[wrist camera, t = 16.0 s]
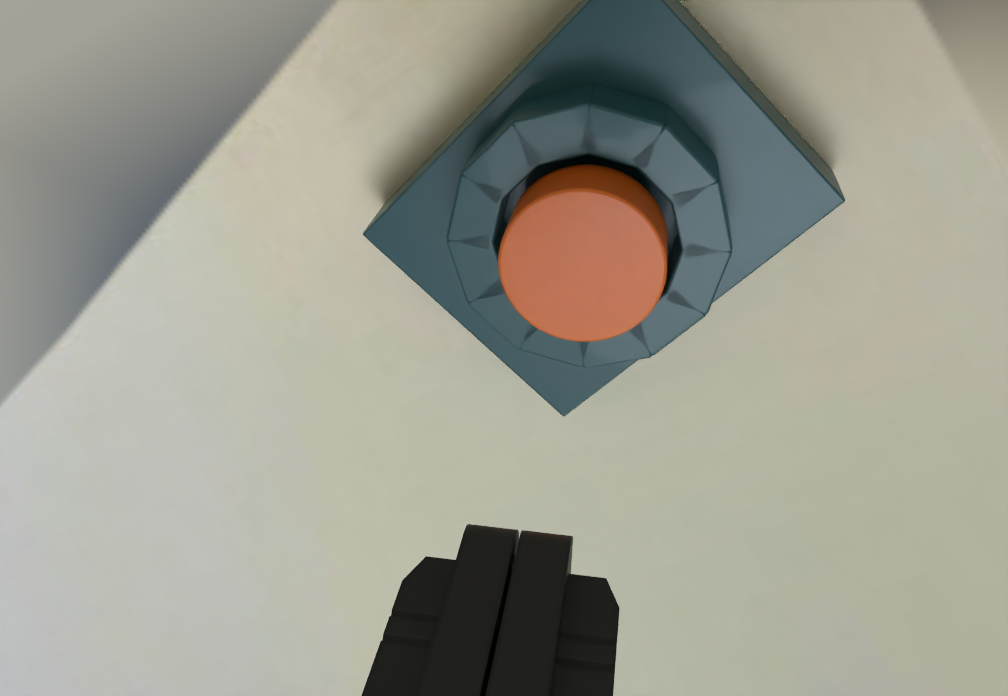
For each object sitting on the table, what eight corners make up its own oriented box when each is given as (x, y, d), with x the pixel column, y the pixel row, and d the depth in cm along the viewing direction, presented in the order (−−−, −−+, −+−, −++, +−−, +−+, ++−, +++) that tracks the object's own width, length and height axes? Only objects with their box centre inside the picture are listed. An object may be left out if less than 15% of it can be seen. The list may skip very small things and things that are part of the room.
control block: (571, 379, 30) (557, 453, 27) (382, 205, 28) (341, 261, 25) (834, 171, 26) (858, 228, 22) (631, -52, 24) (624, -27, 20)
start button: (585, 338, 25) (579, 372, 24) (476, 235, 24) (463, 264, 23) (702, 244, 24) (703, 274, 22) (588, 129, 23) (583, 152, 21)
